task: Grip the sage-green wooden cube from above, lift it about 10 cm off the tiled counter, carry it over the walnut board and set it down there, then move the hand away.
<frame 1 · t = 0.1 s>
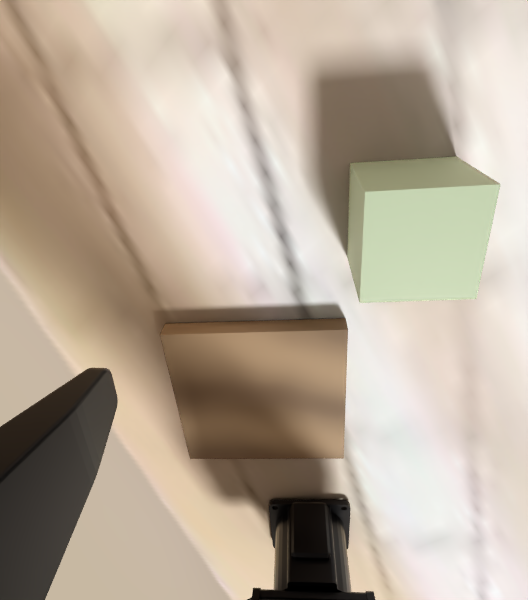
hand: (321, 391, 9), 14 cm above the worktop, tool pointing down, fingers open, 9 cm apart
walnut board: (260, 389, 28), on the worktop
sage cube: (397, 209, 21), on the worktop
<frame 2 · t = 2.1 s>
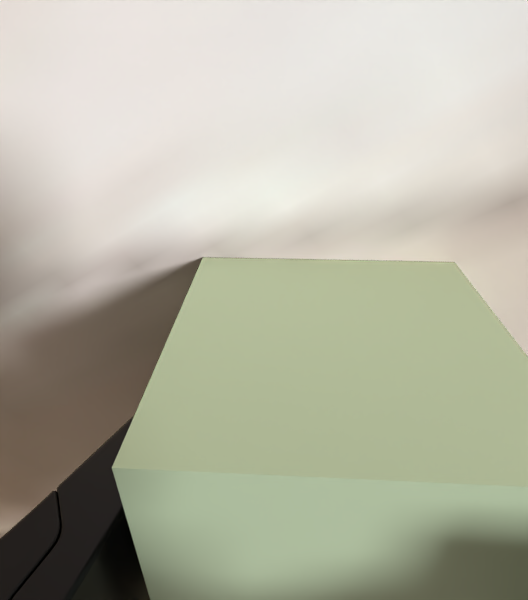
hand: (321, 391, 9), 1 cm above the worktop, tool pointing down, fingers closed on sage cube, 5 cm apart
sage cube: (319, 358, 10), on the worktop, touching gripper
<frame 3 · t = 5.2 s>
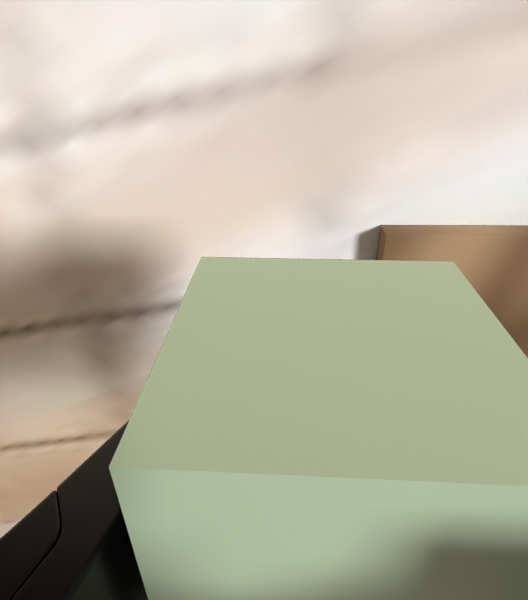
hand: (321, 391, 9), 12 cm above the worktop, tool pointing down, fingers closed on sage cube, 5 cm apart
walnut board: (475, 327, 22), on the worktop
sage cube: (317, 357, 10), point 11 cm above the worktop, touching gripper
when the fingers open (3 cm above the worktop, at t = 8.5 s): sage cube stays where it is, resting on walnut board.
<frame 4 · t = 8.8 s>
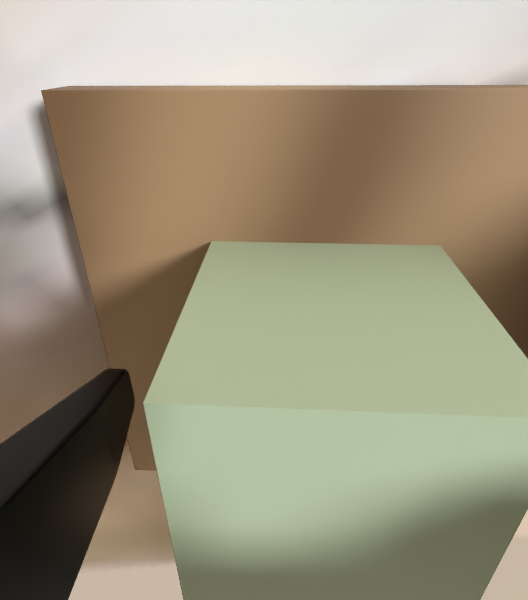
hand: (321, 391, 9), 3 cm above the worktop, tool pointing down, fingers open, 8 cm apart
walnut board: (313, 310, 11), on the worktop
sage cube: (317, 336, 10), point 1 cm above the worktop, touching walnut board
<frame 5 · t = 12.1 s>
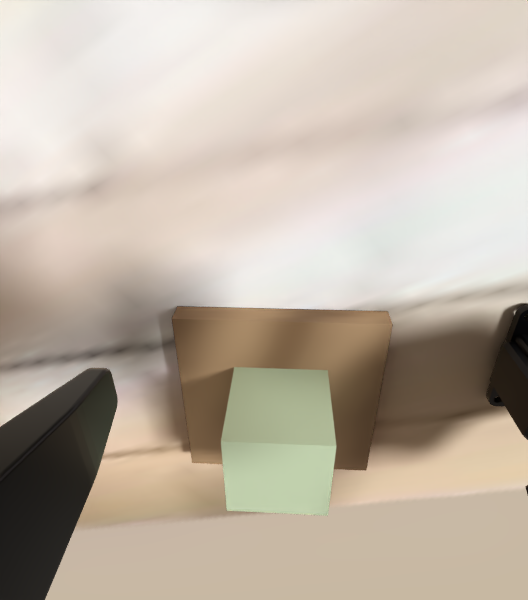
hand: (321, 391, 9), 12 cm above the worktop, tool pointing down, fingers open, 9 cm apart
walnut board: (279, 388, 25), on the worktop
sage cube: (280, 402, 24), point 1 cm above the worktop, touching walnut board
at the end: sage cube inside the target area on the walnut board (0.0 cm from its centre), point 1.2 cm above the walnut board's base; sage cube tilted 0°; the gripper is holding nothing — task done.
